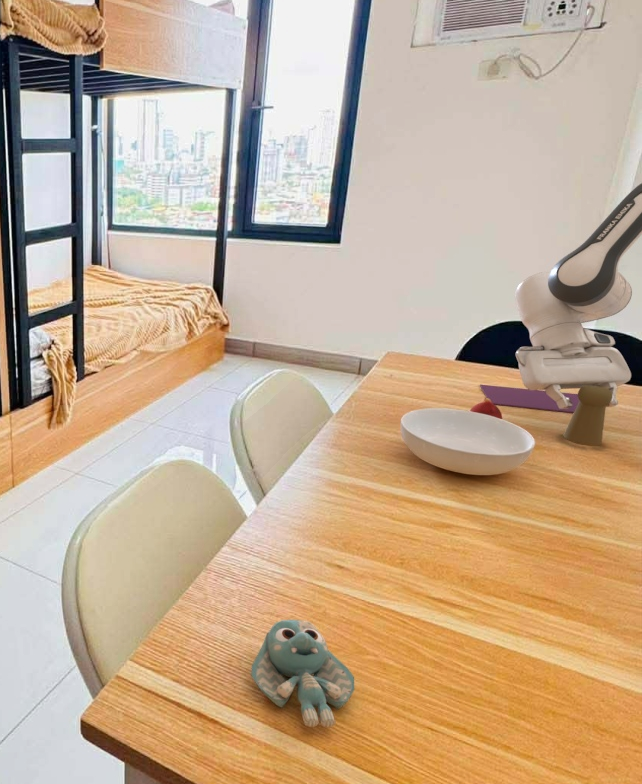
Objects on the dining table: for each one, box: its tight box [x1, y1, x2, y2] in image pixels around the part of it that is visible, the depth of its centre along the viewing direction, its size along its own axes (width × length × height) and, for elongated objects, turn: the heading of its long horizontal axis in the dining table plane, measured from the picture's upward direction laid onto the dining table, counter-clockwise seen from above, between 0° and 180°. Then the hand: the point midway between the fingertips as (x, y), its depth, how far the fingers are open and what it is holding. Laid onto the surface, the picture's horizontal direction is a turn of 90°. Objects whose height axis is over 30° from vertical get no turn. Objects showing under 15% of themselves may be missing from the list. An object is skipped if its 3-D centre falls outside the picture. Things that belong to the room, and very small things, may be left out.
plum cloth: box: [479, 383, 579, 414], centre depth 146 cm, size 20×14×1 cm
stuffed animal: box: [250, 619, 355, 728], centre depth 66 cm, size 11×7×12 cm
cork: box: [562, 385, 612, 446], centre depth 123 cm, size 6×6×11 cm
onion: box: [469, 397, 503, 420], centre depth 126 cm, size 6×6×8 cm
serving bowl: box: [400, 407, 536, 476], centre depth 115 cm, size 21×21×7 cm
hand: (589, 406), depth 123 cm, fingers open, 8 cm apart
